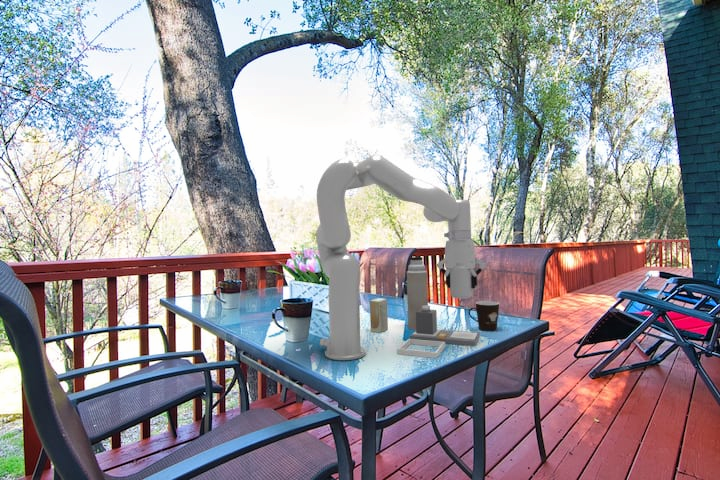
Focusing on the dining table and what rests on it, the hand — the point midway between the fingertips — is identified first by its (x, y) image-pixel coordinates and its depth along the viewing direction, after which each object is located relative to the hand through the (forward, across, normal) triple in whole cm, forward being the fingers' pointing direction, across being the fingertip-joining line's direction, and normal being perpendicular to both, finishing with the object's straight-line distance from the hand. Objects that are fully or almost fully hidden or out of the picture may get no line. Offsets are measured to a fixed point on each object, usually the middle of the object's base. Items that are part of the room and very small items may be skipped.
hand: (461, 287), depth 128 cm
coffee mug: (+19, +5, +18) cm, 27 cm away
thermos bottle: (+18, -19, +12) cm, 30 cm away
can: (+4, 0, 0) cm, 4 cm away
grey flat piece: (+18, -6, 0) cm, 19 cm away
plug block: (+16, -13, 0) cm, 21 cm away
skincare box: (+18, -32, +3) cm, 37 cm away
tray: (+18, -10, -16) cm, 26 cm away
